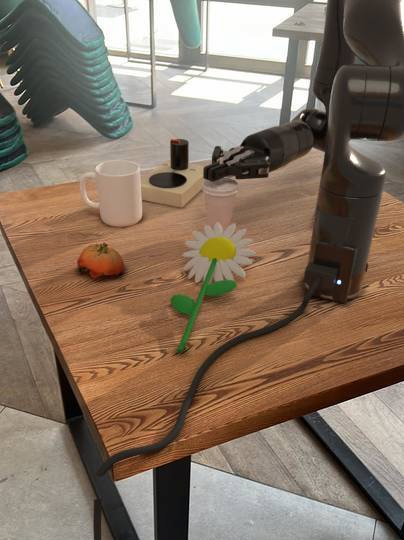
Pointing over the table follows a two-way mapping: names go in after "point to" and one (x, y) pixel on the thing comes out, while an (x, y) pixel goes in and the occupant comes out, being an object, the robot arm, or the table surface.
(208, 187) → the smoothie
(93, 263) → the tomato
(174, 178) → the burner ring
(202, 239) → the decorative flower
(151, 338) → the table surface
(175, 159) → the stove knob
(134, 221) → the cup
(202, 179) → the hob
